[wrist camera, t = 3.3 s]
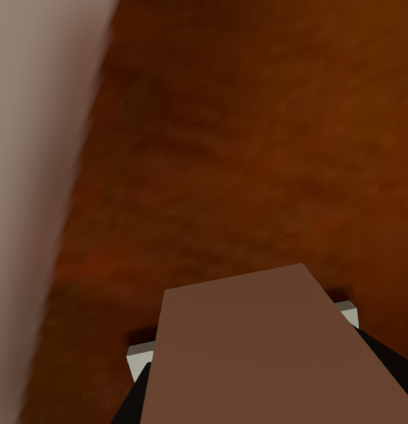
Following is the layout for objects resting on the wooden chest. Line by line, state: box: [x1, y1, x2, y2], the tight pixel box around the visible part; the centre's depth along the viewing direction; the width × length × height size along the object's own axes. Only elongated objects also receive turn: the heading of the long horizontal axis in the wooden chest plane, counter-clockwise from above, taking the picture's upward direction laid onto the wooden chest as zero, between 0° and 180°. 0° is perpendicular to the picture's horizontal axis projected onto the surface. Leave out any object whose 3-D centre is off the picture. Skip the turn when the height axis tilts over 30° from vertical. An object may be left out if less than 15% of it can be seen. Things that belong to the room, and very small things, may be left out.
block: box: [140, 263, 408, 424], centre depth 7 cm, size 4×4×6 cm
